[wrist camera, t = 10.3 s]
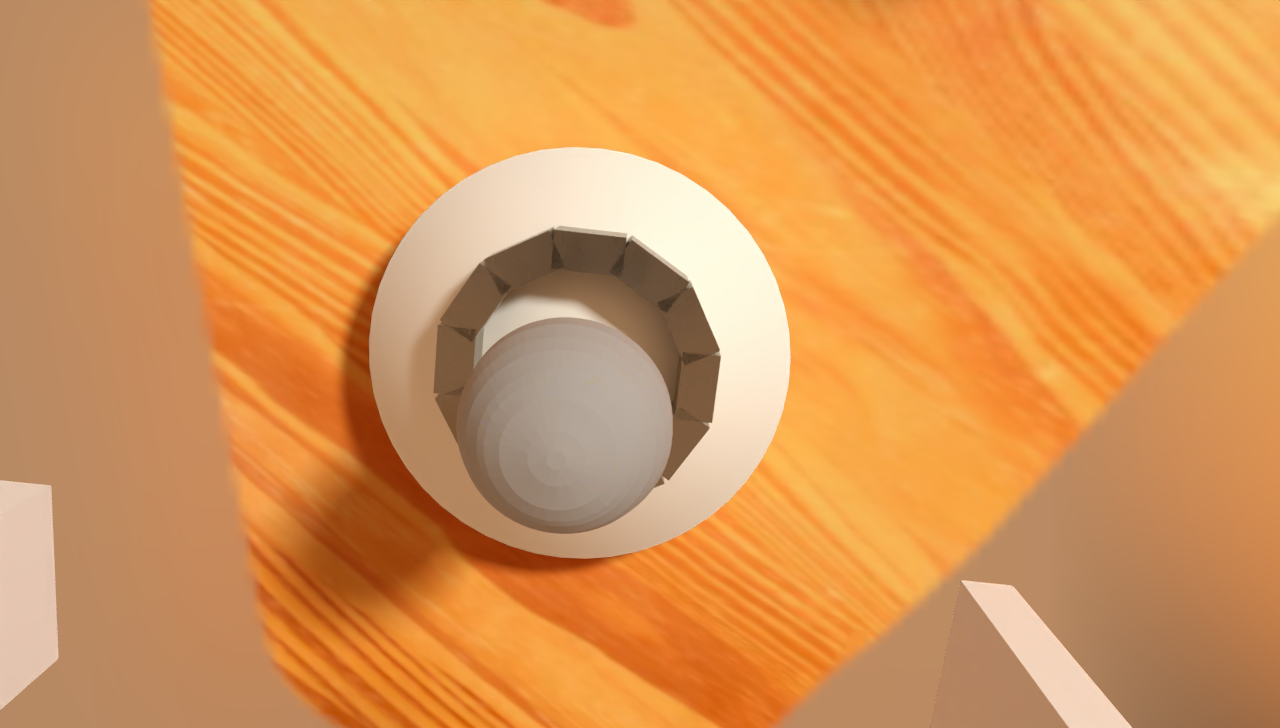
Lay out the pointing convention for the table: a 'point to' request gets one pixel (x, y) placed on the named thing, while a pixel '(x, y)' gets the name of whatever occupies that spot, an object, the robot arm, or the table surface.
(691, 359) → the socket collar
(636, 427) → the light bulb
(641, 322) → the socket base
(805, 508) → the table surface
